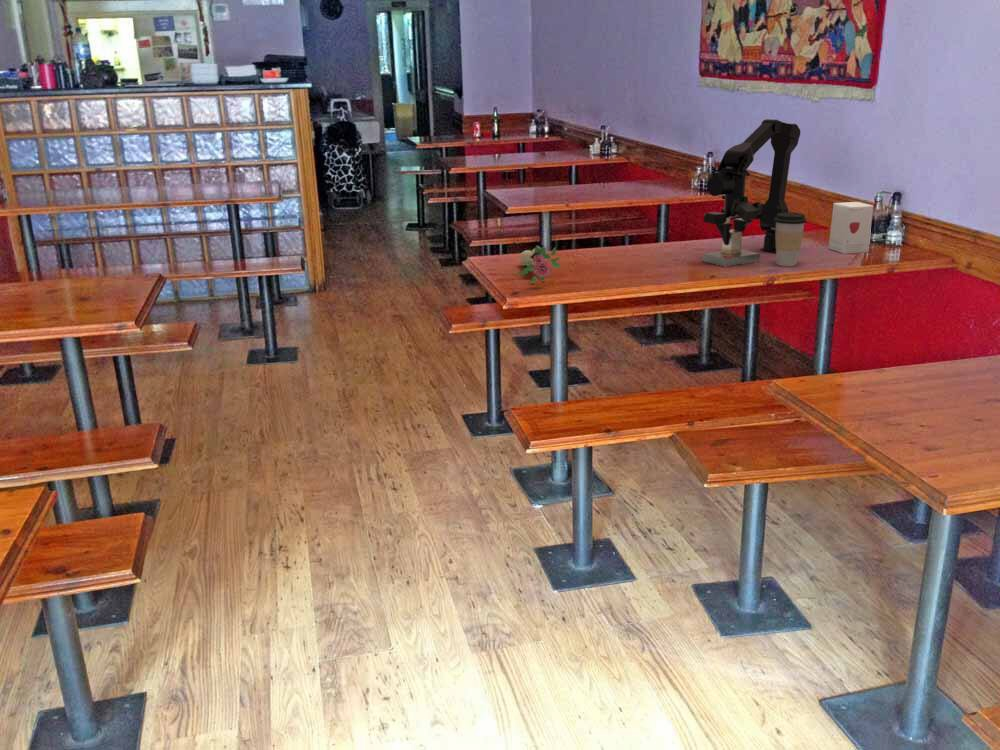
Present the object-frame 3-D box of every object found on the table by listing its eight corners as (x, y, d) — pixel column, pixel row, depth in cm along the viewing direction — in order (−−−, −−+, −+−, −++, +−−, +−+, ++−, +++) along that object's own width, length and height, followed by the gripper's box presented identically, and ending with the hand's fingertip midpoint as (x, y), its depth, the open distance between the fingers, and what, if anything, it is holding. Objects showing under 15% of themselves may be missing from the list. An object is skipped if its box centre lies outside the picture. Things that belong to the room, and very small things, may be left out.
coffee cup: (779, 268, 276) (783, 217, 271) (764, 262, 285) (768, 212, 280) (808, 266, 278) (813, 216, 273) (793, 260, 287) (797, 211, 282)
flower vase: (539, 290, 287) (562, 291, 253) (501, 280, 285) (519, 280, 251) (549, 253, 286) (573, 249, 252) (511, 242, 284) (530, 237, 250)
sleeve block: (736, 256, 294) (737, 246, 293) (759, 261, 285) (760, 252, 284) (702, 261, 287) (702, 251, 287) (724, 267, 279) (724, 257, 278)
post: (731, 253, 289) (733, 229, 286) (741, 255, 285) (742, 231, 283) (721, 254, 287) (722, 230, 284) (730, 257, 283) (732, 232, 281)
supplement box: (843, 254, 294) (848, 206, 289) (827, 249, 302) (832, 202, 297) (869, 252, 295) (874, 205, 291) (852, 247, 304) (857, 201, 299)
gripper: (729, 198, 269) (726, 251, 274) (777, 192, 277) (773, 245, 282) (703, 194, 278) (701, 245, 283) (751, 188, 286) (747, 239, 291)
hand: (731, 244), depth 285 cm, fingers closed on post, 4 cm apart
